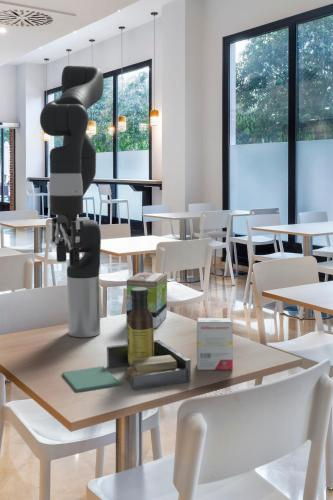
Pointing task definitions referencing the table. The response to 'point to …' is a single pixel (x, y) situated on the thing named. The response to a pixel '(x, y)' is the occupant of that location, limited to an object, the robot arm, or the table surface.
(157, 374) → the grey three-sided tray
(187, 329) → the table surface
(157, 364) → the offcut stack
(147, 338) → the sauce bottle
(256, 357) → the table surface
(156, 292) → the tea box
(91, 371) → the green rubber mat
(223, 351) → the ink box
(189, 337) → the table surface
